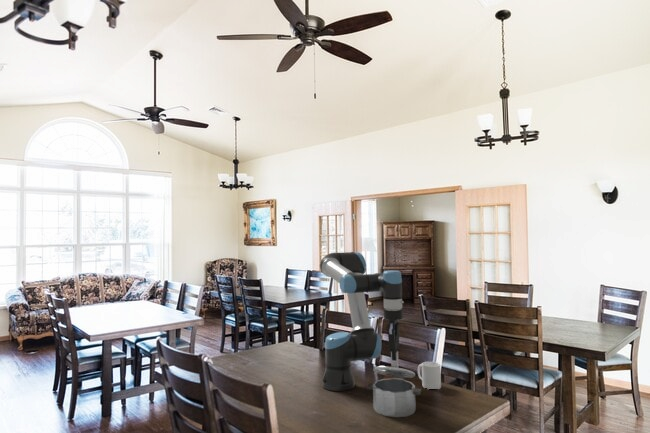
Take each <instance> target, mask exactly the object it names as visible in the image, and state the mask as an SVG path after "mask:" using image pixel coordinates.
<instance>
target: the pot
mask: <svg viewBox="0 0 650 433" xmlns="http://www.w3.org/2000/svg"><path fill="white" fill-rule="evenodd" d="M366 390H372V408H373V410H374V411H375V413H377V414H379V415H382V416H384V417H390V418H391V417H392V418H402V417H404V418H405V417H409V416H411V415H413V414H415V412H416V410H417V408H416V407H417V406H416V396H420V395H421V393H422V389H421V388H416V385H415V384H414V383H413V382H411V381H408V380H405V379H404V380H403V379H400V378H394V379H384V378H382V379H378V380H376V381H375V382H374V383H369V384H368V385H367V386H366Z"/></svg>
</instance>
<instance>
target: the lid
mask: <svg viewBox="0 0 650 433" xmlns="http://www.w3.org/2000/svg"><path fill="white" fill-rule="evenodd" d="M372 370H373V372H374V373H376V374H379V375H382V376H391V377H396V378H404V379H410V378H415V376H416V373H415V372H414V371H413V370H409V369H406V368H401V367H399V368H397V367H391V366H390V365H389V366H387V365H386V366H385V365H378V366H374V367H373V369H372Z"/></svg>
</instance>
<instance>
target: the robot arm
mask: <svg viewBox="0 0 650 433" xmlns="http://www.w3.org/2000/svg"><path fill="white" fill-rule="evenodd" d="M319 263H320V264H319V269H320V271H321V273H322V274H323V275H324V276H326V277H328V278H332V279H333V280H334V281H336V283H338V284H339V289H340V290H341V292H342V293H343V294H346V296H347V302H348V306H349V307H348V308H349V312H350V319H351V325H352V328H351V331H350V333H349V332H345V331H343V332H342V331H339V332H334V333H331V334H329V335H327V336H326V337H325V341H324V342H325V345H324V349H325V352H324V355H325V370H324V373H323V377H322V381H321V384H322V385H321V386H322V388H324V389H325V390H328V391H333V392H334V391H335V392H342V391H343V392H344V391H349V390H352V389H354V388H355V386H356V383H355V382H356V381H355V377H354V375H353V371H352V369H351V367H352V366H351V363H352V362H357V361H365V360H367V361H369V360H375V359H377V358H378V357H379V356H380V355H381V352H382V338H381V336H380V333H378V332H375V328H374V327H373V326H372V325H371V322H370V317H369V313H368V311H369V310H368V305H367V301H366V295H365V293H376V292H381V293H383V308H384V310H383V318H384V319H385V320H388V323H387V330H386V331H387V335H388V336H387V337H388V352H389V353H390V364H391V365H390V367H397V368H400V367H399V351H401V349H400V326H401V325H400V322H399V321H400V320H402V319H403V317H404V316H403V315H404V312H403V304H404V303H405V302H404V300H403V279H402V272H401V271H400V270H393V269H392V270H390V269H389V270H383V273H381V272H376V273H370V274H368V273H367V274H365V273H366V272H367V263H366V259H365V257H364V255H363V254H362V253H361V252H356V251H355V252H354V251H350V252H349V251H347V252H346V251H345V252H330V253H328V254H326V255H324V256H323V257H322V259H321V261H320V262H319Z"/></svg>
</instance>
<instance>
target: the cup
mask: <svg viewBox="0 0 650 433" xmlns="http://www.w3.org/2000/svg"><path fill="white" fill-rule="evenodd" d="M417 376H418V378H419V380H421V384H422V387H423V389H425V388H427V389H426V390H429V389H438V390H440V389H441V388H442V379H441V378H442V372H441V363H439V362H436V361H424V362H421V363H420V364H419V365H418V366H417Z"/></svg>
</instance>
